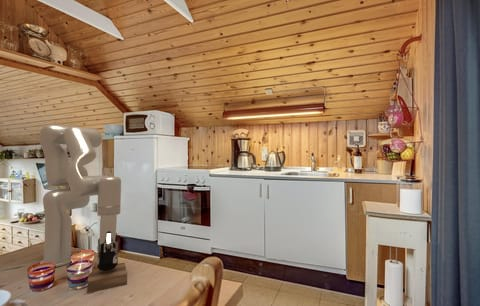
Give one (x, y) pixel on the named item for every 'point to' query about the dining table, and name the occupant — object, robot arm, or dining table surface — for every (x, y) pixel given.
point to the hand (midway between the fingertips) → (107, 258)
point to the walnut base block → (107, 278)
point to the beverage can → (100, 256)
